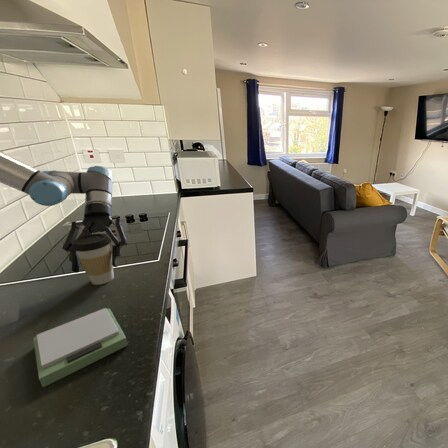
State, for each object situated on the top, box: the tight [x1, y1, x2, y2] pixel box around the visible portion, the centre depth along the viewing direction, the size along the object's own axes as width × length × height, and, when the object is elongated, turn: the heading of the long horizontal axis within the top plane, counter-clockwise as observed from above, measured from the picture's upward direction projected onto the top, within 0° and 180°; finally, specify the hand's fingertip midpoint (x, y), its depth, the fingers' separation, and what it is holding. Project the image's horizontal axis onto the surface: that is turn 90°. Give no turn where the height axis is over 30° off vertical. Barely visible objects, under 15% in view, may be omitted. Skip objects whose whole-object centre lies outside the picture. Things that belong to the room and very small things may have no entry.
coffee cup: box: [73, 233, 115, 286], centre depth 85 cm, size 10×10×15 cm
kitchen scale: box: [32, 307, 129, 388], centre depth 61 cm, size 15×15×3 cm
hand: (95, 268), depth 83 cm, fingers closed on coffee cup, 10 cm apart
